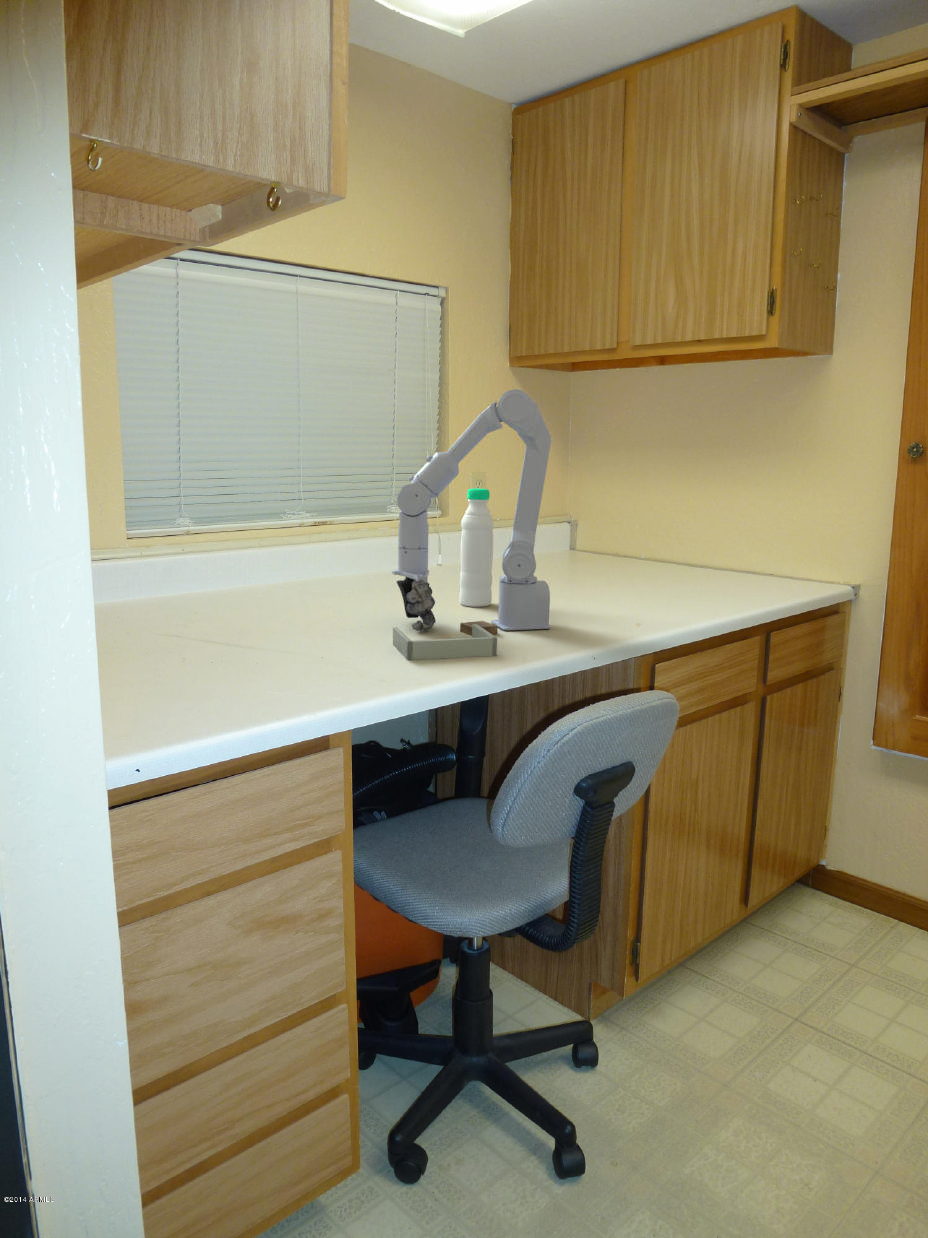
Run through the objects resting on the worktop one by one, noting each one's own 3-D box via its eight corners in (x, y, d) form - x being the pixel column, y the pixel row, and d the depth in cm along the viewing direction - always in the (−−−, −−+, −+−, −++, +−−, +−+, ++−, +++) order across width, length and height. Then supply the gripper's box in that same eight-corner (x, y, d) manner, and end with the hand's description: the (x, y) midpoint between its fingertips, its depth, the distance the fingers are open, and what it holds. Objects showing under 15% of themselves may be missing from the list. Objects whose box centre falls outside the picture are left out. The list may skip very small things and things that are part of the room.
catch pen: (476, 640, 155) (476, 624, 154) (496, 655, 144) (497, 637, 143) (392, 644, 150) (392, 627, 150) (407, 660, 140) (407, 642, 139)
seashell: (425, 634, 158) (426, 580, 156) (401, 631, 161) (401, 577, 159) (440, 629, 163) (441, 577, 161) (416, 626, 165) (417, 574, 163)
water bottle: (488, 608, 184) (492, 489, 179) (456, 606, 186) (458, 488, 181) (494, 602, 191) (497, 488, 186) (462, 600, 192) (465, 487, 187)
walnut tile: (482, 631, 164) (482, 620, 164) (497, 636, 160) (497, 625, 160) (460, 633, 162) (460, 623, 161) (474, 639, 157) (475, 628, 157)
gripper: (384, 543, 171) (384, 610, 173) (401, 552, 157) (400, 625, 160) (419, 542, 173) (418, 609, 176) (438, 552, 159) (437, 624, 162)
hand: (412, 617), depth 168 cm, fingers closed
